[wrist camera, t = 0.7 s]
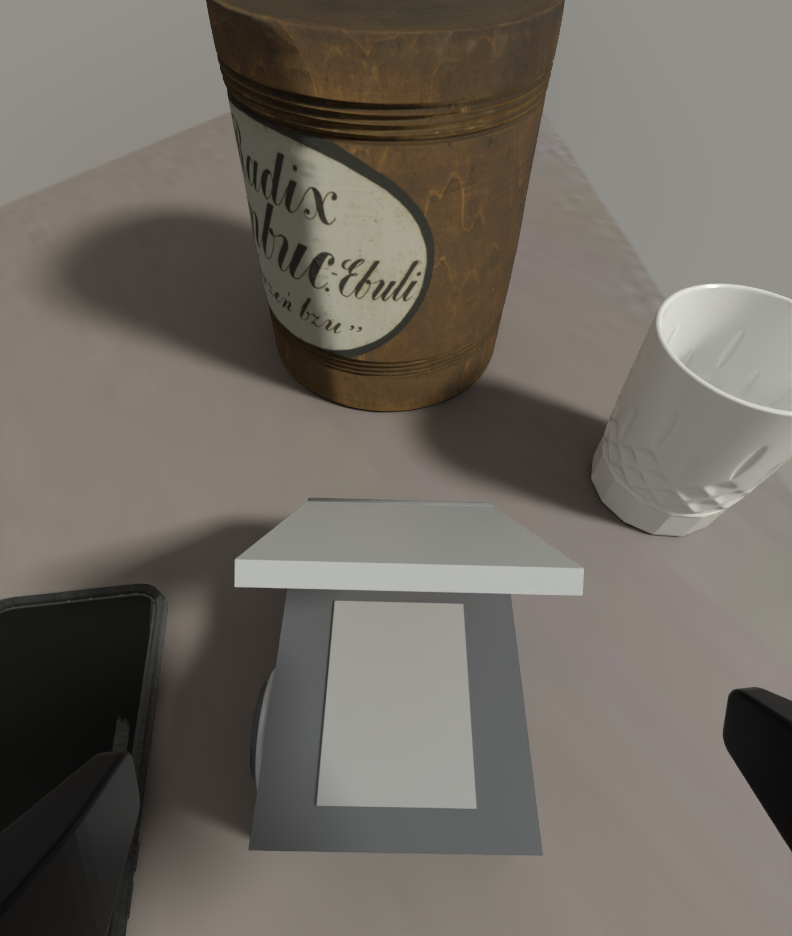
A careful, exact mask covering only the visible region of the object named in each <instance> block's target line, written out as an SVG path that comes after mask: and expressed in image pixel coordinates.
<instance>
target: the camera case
mask: <svg viewBox="0 0 792 936" xmlns="http://www.w3.org/2000/svg"><path fill="white" fill-rule="evenodd" d="M250 766H251V775H252V778H253V780H254V781H256V787H257V796H256V802H255V809H254V816H253V823H252V829H251V836H250V843H249V850H265V851H320V852H375V853H429V854H484V855H539V856H543V854H542V846H541V838H540V830H539V821H538V813H537V805H536V797H535V789H534V781H533V773H532V765H531V756H530V748H529V740H528V732H527V724H526V716H525V708H524V699H523V691H522V683H521V675H520V667H519V659H518V651H517V643H516V634H515V626H514V618H513V610H512V602H511V594H499V593H458V592H418V591H377V590H337V589H296V588H287V593H286V600H285V607H284V614H283V620H282V627H281V634H280V641H279V647H278V654H277V661H276V668H275V669H274V670H273V671H272V673H271V675H270V678H269V680H268V682H266V683H265V684H264V686H263V687H262V690H261V692H260V695H259V699H258V702H257V706H256V711H255V716H254V722H253V729H252V737H251V751H250Z"/></svg>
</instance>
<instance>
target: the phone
mask: <svg viewBox="0 0 792 936" xmlns="http://www.w3.org/2000/svg"><path fill="white" fill-rule="evenodd" d="M167 613H168V606H167V602H166V600H165V598H164V596H163V595H162V594H161V593H160V592H159V591H158V590H157V589H156V588H155V587H154V586H151V585H148V584H134V585H125V586H116V587H106V588H97V589H88V590H79V591H70V592H61V593H52V594H42V595H33V596H24V597H15V598H9V599H5V600H2V601H0V833H1V832H2V831H3V830H5V829H6V828H7V827H8V826H9V825H11V824H12V823H13V822H14V821H16V820H17V819H18V818H19V817H20V816H22V815H23V814H24V813H25V812H26V811H28V810H29V809H30V808H31V807H33V806H34V805H35V804H36V803H37V802H39V801H40V800H41V799H42V798H44V797H45V796H46V795H47V794H48V793H50V792H51V791H52V790H53V789H55V788H56V787H57V786H58V785H59V784H61V783H62V782H63V781H64V780H66V779H67V778H68V777H69V776H70V775H72V774H73V773H74V772H75V771H76V770H78V769H79V768H80V767H81V766H83V765H84V764H85V763H86V762H87V761H89V760H90V759H91V758H92V757H94V756H95V755H97V754H100V753H104V752H114V751H128V752H129V753H130V754H131V756H132V758H133V763H134V768H135V773H136V779H137V784H138V790H139V795H140V810H139V816H138V820H137V823H136V827H135V831H134V834H133V838H132V842H131V845H130V849H129V853H128V856H127V860H126V864H125V867H124V871H123V875H122V878H121V882H120V886H119V889H118V893H117V897H116V900H115V904H114V908H113V911H112V915H111V919H110V922H109V926H108V929H107V933H106V936H125V935H126V927H127V920H128V919H129V914H130V906H131V898H132V890H133V882H132V881H133V874H134V872H135V871H136V864H137V856H138V848H139V842H138V835H139V828H140V820H141V812H142V805H143V797H144V789H145V782H146V774H147V766H148V759H149V751H150V743H151V736H152V728H153V720H154V713H155V705H156V697H157V690H158V682H159V674H160V667H161V659H162V651H163V644H164V636H165V628H166V621H167Z"/></svg>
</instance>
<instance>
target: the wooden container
mask: <svg viewBox="0 0 792 936" xmlns="http://www.w3.org/2000/svg"><path fill="white" fill-rule="evenodd" d="M564 1H565V0H206V2H207V8H208V14H209V18H210V24H211V29H212V34H213V39H214V44H215V48H216V51H217V56H218V61H219V64H220V70H221V73H222V75H223V80H224V83H225V85H226V87H227V92H228V98H229V104H230V110H231V115H232V120H233V125H234V130H235V136H236V141H237V146H238V151H239V156H240V161H241V166H242V172H243V177H244V182H245V188H246V193H247V199H248V205H249V211H250V217H251V223H252V228H253V234H254V239H255V244H256V250H257V255H258V260H259V265H260V270H261V275H262V279H263V284H264V288H265V293H266V297H267V301H268V304H269V308H270V314H271V319H272V323H273V328H274V332H275V337H276V341H277V346H278V349H279V353H280V356H281V358H282V361H283V362H284V364H285V366H286V367H287V369H288V370H289V372H290V373H291V374H292V375H293V376H294V377H295V378H296V379H297V380H298V381H299V382H300V383H301V384H302V385H303V386H305V387H306V388H307V389H309V390H311V391H312V392H314V393H316V394H318V395H320V396H322V397H324V398H326V399H328V400H331V401H333V402H336V403H339V404H342V405H345V406H349V407H354V408H358V409H365V410H373V411H404V410H413V409H418V408H422V407H426V406H430V405H433V404H437V403H440V402H442V401H445V400H447V399H449V398H451V397H453V396H455V395H457V394H459V393H461V392H462V391H463V390H465V389H466V388H468V387H469V386H471V385H472V384H473V383H474V382H475V381H476V380H477V379H478V378H479V377H480V376H481V375H482V373H483V372H484V370H485V369H486V367H487V366H488V364H489V361H490V359H491V357H492V354H493V350H494V346H495V342H496V337H497V333H498V329H499V324H500V320H501V315H502V310H503V306H504V303H505V299H506V295H507V291H508V287H509V282H510V278H511V273H512V268H513V263H514V259H515V254H516V250H517V245H518V240H519V235H520V229H521V224H522V218H523V212H524V206H525V201H526V195H527V189H528V184H529V178H530V173H531V168H532V163H533V158H534V153H535V147H536V142H537V137H538V132H539V126H540V121H541V116H542V112H543V106H544V100H545V95H546V90H547V87H548V83H549V79H550V75H551V69H552V66H553V60H554V56H555V51H556V47H557V42H558V37H559V32H560V26H561V21H562V15H563V9H564Z"/></svg>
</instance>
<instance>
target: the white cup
mask: <svg viewBox="0 0 792 936" xmlns="http://www.w3.org/2000/svg"><path fill="white" fill-rule="evenodd" d="M791 458H792V300H791V299H789V298H786V297H784V296H781V295H778V294H775V293H772V292H769V291H765V290H761V289H758V288H753V287H748V286H742V285H734V284H703V285H697V286H692V287H688V288H685V289H682V290H680V291H677V292H675V293H674V294H672V295H670V296H669V297H668V298H667V299H666V300H665V301H664V302H663V303H662V304H661V305H660V307H659V309H658V311H657V313H656V315H655V317H654V320H653V322H652V324H651V326H650V329H649V331H648V333H647V335H646V337H645V340H644V342H643V344H642V346H641V348H640V350H639V353H638V355H637V357H636V359H635V361H634V363H633V366H632V368H631V370H630V372H629V374H628V376H627V378H626V381H625V383H624V385H623V387H622V389H621V392H620V394H619V397H618V399H617V402H616V405H615V407H614V409H613V411H612V413H611V415H610V417H609V420H608V423H607V426H606V429H605V433H604V435H603V437H602V439H601V441H600V444H599V446H598V448H597V450H596V452H595V454H594V456H593V463H592V474H591V480H592V482H593V484H594V486H595V488H596V490H597V492H598V495H599V497H600V499H601V501H602V502H603V503H604V504H605V505H606V506H607V507H608V508H609V509H610V510H611V511H612V512H614V513H615V514H616V515H617V516H618V517H619V518H620V519H621V520H622V521H623V522H625V523H627V524H630V525H632V526H634V527H637V528H639V529H641V530H643V531H646V532H648V533H650V534H653V535H666V536H685V535H687V534H690V533H692V532H695V531H697V530H700V529H702V528H705V527H706V526H708V525H709V524H710V523H711V522H712V521H714V520H715V519H716V518H717V517H718V516H719V515H720V514H722V513H723V512H724V511H725V510H726V509H727V508H728V507H730V506H732V505H733V504H735V503H736V502H738V501H739V500H741V499H742V498H743V497H745V496H746V495H748V494H749V493H750V492H751V491H752V490H753V489H754V488H755V487H756V486H758V485H759V484H761V483H762V482H763V481H765V480H766V479H767V478H769V477H770V476H771V475H772V474H773V473H775V472H776V471H777V470H778V469H779V468H781V467H782V466H783V465H784V464H785V463H786V462H788V461H789V460H790V459H791Z"/></svg>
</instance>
